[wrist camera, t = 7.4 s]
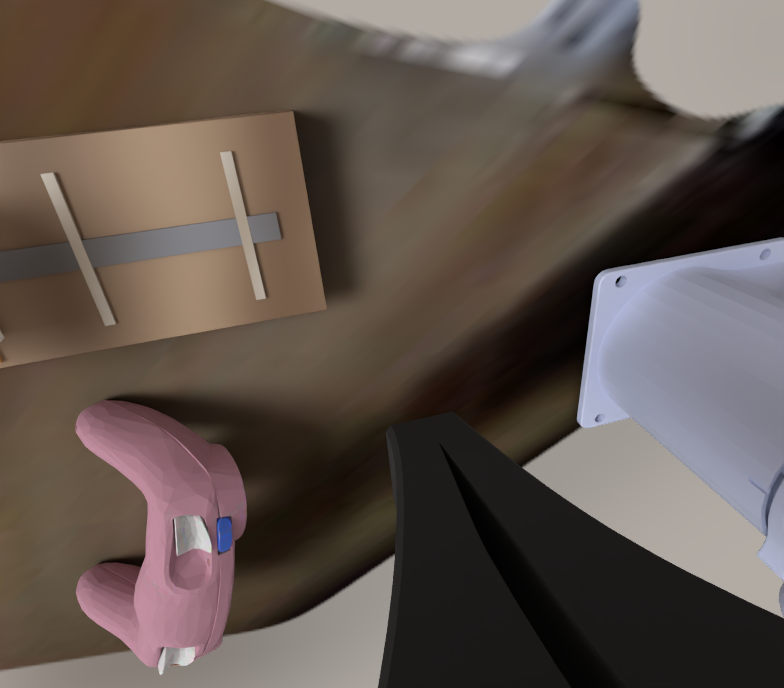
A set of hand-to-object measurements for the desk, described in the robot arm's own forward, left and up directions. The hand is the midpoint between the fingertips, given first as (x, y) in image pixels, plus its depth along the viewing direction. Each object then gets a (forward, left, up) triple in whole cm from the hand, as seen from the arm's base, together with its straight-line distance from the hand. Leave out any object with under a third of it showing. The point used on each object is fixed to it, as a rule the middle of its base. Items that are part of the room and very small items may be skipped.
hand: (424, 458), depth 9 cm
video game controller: (+9, +8, -10) cm, 15 cm away
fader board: (+8, -3, -9) cm, 12 cm away
